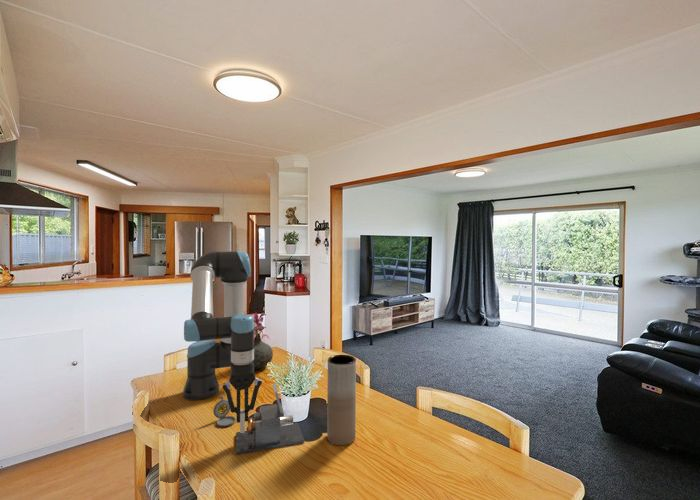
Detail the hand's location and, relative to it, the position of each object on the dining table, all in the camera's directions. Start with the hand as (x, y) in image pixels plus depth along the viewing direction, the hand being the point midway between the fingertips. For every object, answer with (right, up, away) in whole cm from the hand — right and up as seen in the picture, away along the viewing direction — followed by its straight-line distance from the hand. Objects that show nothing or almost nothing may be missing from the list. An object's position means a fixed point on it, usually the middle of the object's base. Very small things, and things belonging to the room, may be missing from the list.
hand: (242, 430), depth 115 cm
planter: (+34, -5, +4) cm, 34 cm away
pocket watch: (-11, -4, +14) cm, 19 cm away
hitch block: (+8, -5, +3) cm, 9 cm away
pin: (+9, -2, +3) cm, 9 cm away
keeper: (+12, +5, +4) cm, 14 cm away
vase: (-14, -4, +71) cm, 73 cm away
